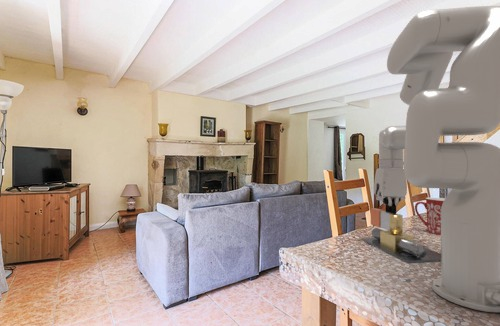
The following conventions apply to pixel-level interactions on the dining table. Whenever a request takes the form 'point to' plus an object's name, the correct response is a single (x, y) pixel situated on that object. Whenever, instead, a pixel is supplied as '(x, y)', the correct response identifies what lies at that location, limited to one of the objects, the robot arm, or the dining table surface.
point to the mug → (432, 214)
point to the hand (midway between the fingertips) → (390, 216)
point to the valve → (401, 247)
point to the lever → (387, 220)
